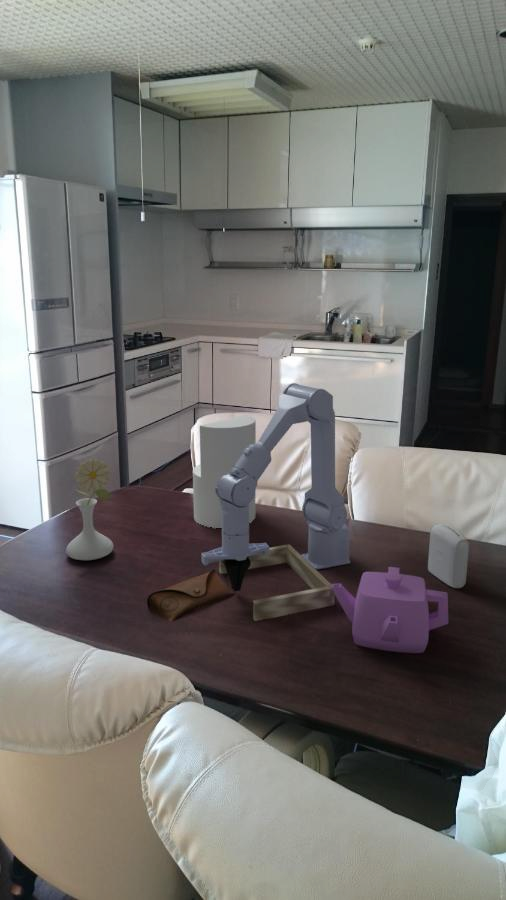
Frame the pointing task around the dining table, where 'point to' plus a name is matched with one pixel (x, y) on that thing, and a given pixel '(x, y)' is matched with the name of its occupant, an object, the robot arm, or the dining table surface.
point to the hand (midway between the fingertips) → (235, 588)
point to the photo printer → (448, 555)
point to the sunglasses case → (188, 595)
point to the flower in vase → (90, 512)
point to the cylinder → (219, 465)
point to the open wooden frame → (291, 602)
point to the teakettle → (392, 611)
